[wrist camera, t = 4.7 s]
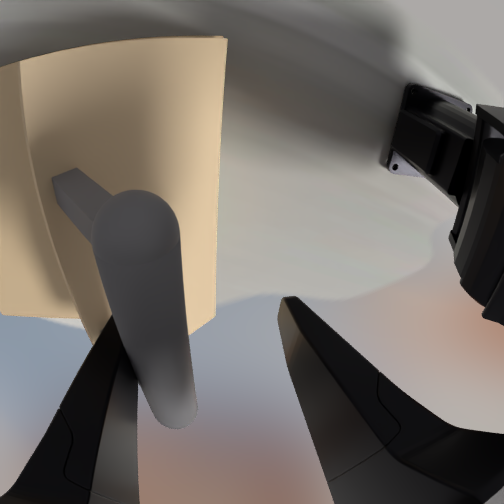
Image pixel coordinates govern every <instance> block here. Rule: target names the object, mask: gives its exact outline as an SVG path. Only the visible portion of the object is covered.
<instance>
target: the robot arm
mask: <svg viewBox="0 0 504 504" xmlns="http://www.w3.org/2000/svg"><path fill="white" fill-rule="evenodd" d="M413 88H414V92H413V93H412V89H413ZM466 109H467V111H466ZM475 114H476V115H477V116H476V115H474V114H472V106H471V105H470V104H467V103H465V102H463V101H460V100H458V99H455V98H453V97H450V96H448V95H445V94H442V93H440V92H437V91H434V90H431V89H428V88H425V87H422V86H419V85H416V84H413V83H409V84H408V85H407V86H406V88H405V92H404V96H403V101H402V105H401V110H400V113H399V116H398V121H397V125H396V129H395V133H394V137H393V141H392V146H391V150H390V154H389V157H388V161H387V165H386V167H387V169H388V170H389V171H390V172H391V173H393V174H401V175H409V176H416V177H424V178H426V179H427V180H429V181H430V182H431V183H432V184H433V185H434V186H436V187H437V188H438V189H439V190H440V191H441V192H442V193H443V194H445V195H446V196H447V197H448V198H449V199H450V200H451V201H452V202H453V203H454V204H455V205H457V206H458V207H459V208H458V212H457V216H456V219H455V223H454V226H453V230H451V231H450V235H449V241H450V244H451V246H452V249H453V251H454V264H455V266H456V268H457V270H458V273H459V275H460V277H461V279H460V284H461V286H462V287H463V288H464V290H465V291H466V292H467V293H468V294H469V295H470V296H471V297H472V298H473V299H474V300H475V301H477V303H479V304H480V305H482V306H484V307H485V309H484V311H483V313H482V317H483V318H485V319H488V320H491V321H494V322H498V323H500V324H501V325H503V326H504V108H502V107H495V106H488V105H481V104H476V113H475ZM394 164H395V167H393V168H392V166H393V165H394ZM278 325H279V330H280V335H281V339H282V344H283V349H284V353H285V358H286V363H287V367H288V370H289V373H290V376H291V379H292V382H293V385H294V388H295V391H296V394H297V397H298V400H299V403H300V406H301V408H302V411H303V414H304V417H305V420H306V423H307V426H308V429H309V432H310V434H311V437H312V440H313V443H314V446H315V449H316V451H317V455H318V457H319V460H320V463H321V466H322V469H323V472H324V475H325V477H326V480H327V484H328V486H329V489H330V492H331V495H332V498H333V501H334V504H504V434H499V433H490V432H483V431H476V430H469V429H463V428H459V427H455V426H453V425H451V424H449V423H447V422H445V421H443V420H442V419H441V418H439V417H438V416H436V415H435V414H433V413H432V412H431V411H429V410H428V409H426V408H425V407H424V406H422V405H421V404H419V403H418V402H417V401H415V400H414V399H412V398H411V397H410V396H409V395H407V394H406V393H405V392H403V391H402V390H401V389H400V388H398V387H397V386H396V385H395V384H394V383H393V382H391V381H390V380H389V379H388V378H387V377H386V376H385V375H384V374H382V373H381V372H379V370H378V369H377V368H375V367H374V366H373V365H372V364H371V363H370V362H369V361H368V360H367V359H366V358H364V357H363V356H362V355H361V354H360V353H359V352H358V351H357V350H355V349H354V348H353V347H352V346H351V345H350V344H349V343H348V342H347V341H345V340H344V339H343V338H342V337H341V336H340V335H339V334H338V333H337V332H335V331H334V330H333V329H332V328H331V327H330V326H329V325H328V324H327V323H326V322H325V321H323V320H322V319H321V318H320V317H319V316H318V315H317V314H316V313H314V312H313V311H312V310H311V309H310V308H309V307H308V306H307V305H306V304H305V303H303V302H302V301H301V300H300V299H299V298H298V297H296V296H289V297H283V298H282V300H281V304H280V308H279V312H278ZM137 402H138V379H137V377H136V375H135V372H134V370H133V367H132V365H131V363H130V360H129V358H128V355H127V353H126V350H125V348H124V345H123V342H122V340H121V337H120V334H119V332H118V329H117V326H116V323H115V321H114V318H113V315H111V317H110V318H109V320H108V322H107V323H106V325H105V326H104V328H103V330H102V331H101V333H100V335H99V336H98V338H97V340H96V341H95V343H94V345H93V347H92V348H91V350H90V352H89V353H88V355H87V357H86V359H85V360H84V362H83V364H82V366H81V368H80V369H79V371H78V373H77V375H76V377H75V378H74V380H73V382H72V384H71V386H70V387H69V389H68V391H67V393H66V395H65V397H64V399H63V401H62V402H61V404H60V409H58V410H57V412H56V414H55V416H54V418H53V420H52V422H51V423H50V426H49V427H48V429H47V431H46V433H45V435H44V437H43V438H42V440H41V442H40V443H39V445H38V446H37V448H36V450H35V451H34V453H33V455H32V456H31V458H30V459H29V461H28V463H27V464H26V466H25V467H24V469H23V471H22V472H21V474H20V476H19V477H18V479H17V481H16V482H15V483H14V485H13V486H12V487H11V488H10V489H9V490H8V491H7V492H6V493H5V494H4V495H2V496H1V497H0V504H140V502H139V485H138V461H137V404H138V403H137Z"/></svg>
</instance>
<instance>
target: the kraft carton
mask: <svg viewBox="0 0 504 504" xmlns="http://www.w3.org/2000/svg"><path fill="white" fill-rule="evenodd" d="M160 38H223V36H163V37H148V38H136V39H126V40H118V41H110V42H103V43H97V44H90V45H85V46H91V45H98V44H105V43H113V42H121V41H131V40H143V39H160ZM85 46H79V47H85ZM79 47H74V48H79ZM74 48H69V49H74ZM69 49H64V50H69ZM64 50H60V51H64ZM56 52H59V51H56ZM51 53H54V52H51ZM47 54H50V53H47ZM43 55H46V54H43ZM39 56H42V55H39ZM36 57H38V56H36ZM31 58H34V57H31ZM28 59H30V58H28ZM24 60H26V59H24ZM21 61H23V60H21ZM18 62H20V61H18ZM18 62H14V63H11V64H8V65H5V66H2V67H0V311H1V313H2V315H11V316H27V317H47V318H78V319H80V317H79V314H78V312H77V310H76V308H75V305H74V303H73V301H72V298H71V296H70V293H69V291H68V288H67V286H66V283H65V281H64V278H63V275H62V273H61V270H60V267H59V265H58V262H57V259H56V256H55V253H54V250H53V247H52V244H51V241H50V238H49V235H48V232H47V229H46V225H45V222H44V218H43V215H42V211H41V208H40V204H39V200H38V196H37V192H36V188H35V184H34V180H33V175H32V171H31V166H30V161H29V156H28V151H27V145H26V139H25V133H24V127H23V120H22V112H21V103H20V93H19V81H18Z"/></svg>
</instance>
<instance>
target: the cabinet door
mask: <svg viewBox="0 0 504 504" xmlns="http://www.w3.org/2000/svg"><path fill="white" fill-rule="evenodd" d="M227 41H228V39H224V38H160V39H143V40H131V41H121V42H113V43H105V44H98V45H91V46H85V47H79V48H74V49H69V50H64V51H59V52H54V53H50V54H46V55H42V56H38V57H34V58H30V59H26V60H23V61H20V62H18V81H19V93H20V103H21V112H22V120H23V127H24V133H25V139H26V145H27V151H28V156H29V161H30V166H31V171H32V175H33V180H34V184H35V188H36V192H37V196H38V200H39V204H40V208H41V211H42V215H43V218H44V222H45V225H46V229H47V232H48V235H49V238H50V241H51V244H52V247H53V250H54V253H55V256H56V259H57V262H58V265H59V267H60V270H61V273H62V275H63V278H64V281H65V283H66V286H67V288H68V291H69V293H70V296H71V298H72V301H73V303H74V305H75V308H76V310H77V312H78V314H79V317H80V319H81V321H82V323H83V326H84V328H85V330H86V332H87V334H88V336H89V338H90V340H91V342H92V344H93V345H94V343H95V341H96V340H97V338H98V336H99V335H100V333H101V331H102V330H103V328H104V326H105V325H106V323H107V322H108V320H109V318H110V317H111V315H113V318H114V321H115V323H116V326H117V329H118V332H119V334H120V337H121V340H122V342H123V345H124V348H125V350H126V353H127V355H128V358H129V360H130V363H131V365H132V367H133V370H134V372H135V375H136V377H137V379H138V384H139V385H140V386H141V388H142V391H143V393H144V395H145V397H146V399H147V402H148V404H149V406H150V408H151V410H152V412H153V414H154V416H155V418H156V419H157V420H158V421H159V422H160V423H161V424H162V425H164V426H166V427H168V428H172V429H181V428H184V427H186V426H188V425H190V424H191V423H192V422H193V421H194V419H195V418H196V415H197V410H198V406H197V399H196V392H195V384H194V377H193V369H192V362H191V353H190V344H189V335H190V334H191V333H193V332H194V331H196V330H197V329H198V328H200V327H201V326H202V325H204V324H205V323H207V322H208V321H209V320H211V319H212V318H213V317H215V308H216V248H217V213H218V187H219V164H220V144H221V126H222V109H223V94H224V80H225V66H226V54H227Z"/></svg>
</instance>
